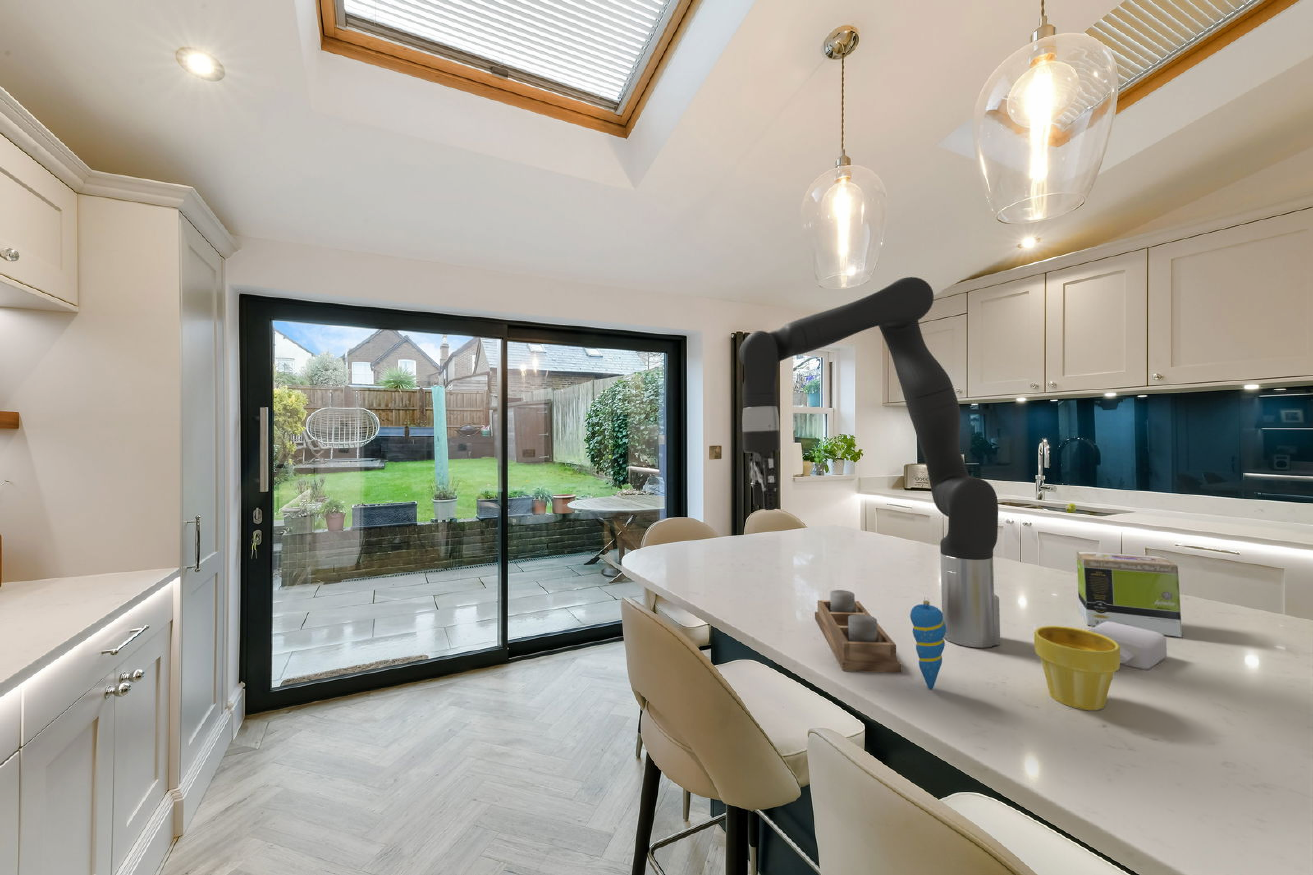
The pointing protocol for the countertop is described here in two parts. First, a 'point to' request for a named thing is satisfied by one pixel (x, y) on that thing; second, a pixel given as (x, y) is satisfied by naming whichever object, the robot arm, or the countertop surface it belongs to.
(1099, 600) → the tea box
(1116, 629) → the charger
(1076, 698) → the plant pot
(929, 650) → the ornament
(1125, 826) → the countertop surface
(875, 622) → the wooden compartment tray
